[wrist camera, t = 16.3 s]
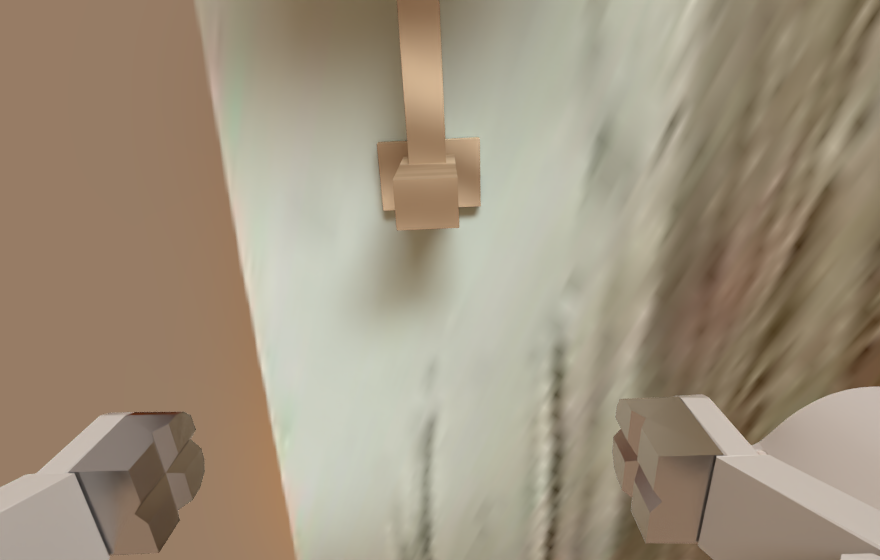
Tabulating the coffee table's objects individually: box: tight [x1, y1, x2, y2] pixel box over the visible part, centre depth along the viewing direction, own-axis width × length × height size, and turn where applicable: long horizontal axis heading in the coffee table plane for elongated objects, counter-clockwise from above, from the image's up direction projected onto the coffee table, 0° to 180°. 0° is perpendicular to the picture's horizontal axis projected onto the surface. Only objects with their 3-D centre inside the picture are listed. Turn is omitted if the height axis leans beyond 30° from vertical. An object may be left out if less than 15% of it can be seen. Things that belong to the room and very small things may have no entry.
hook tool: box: [377, 0, 481, 230], centre depth 23 cm, size 19×6×8 cm, turn 3°
